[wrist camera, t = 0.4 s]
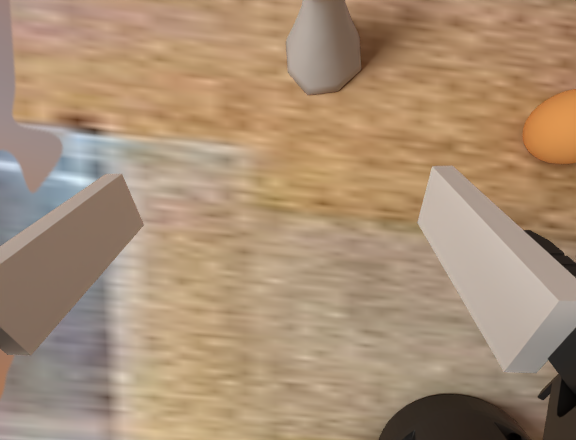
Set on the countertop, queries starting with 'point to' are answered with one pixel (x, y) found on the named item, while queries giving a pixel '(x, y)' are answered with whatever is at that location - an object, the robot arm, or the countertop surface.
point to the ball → (553, 129)
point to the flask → (323, 47)
